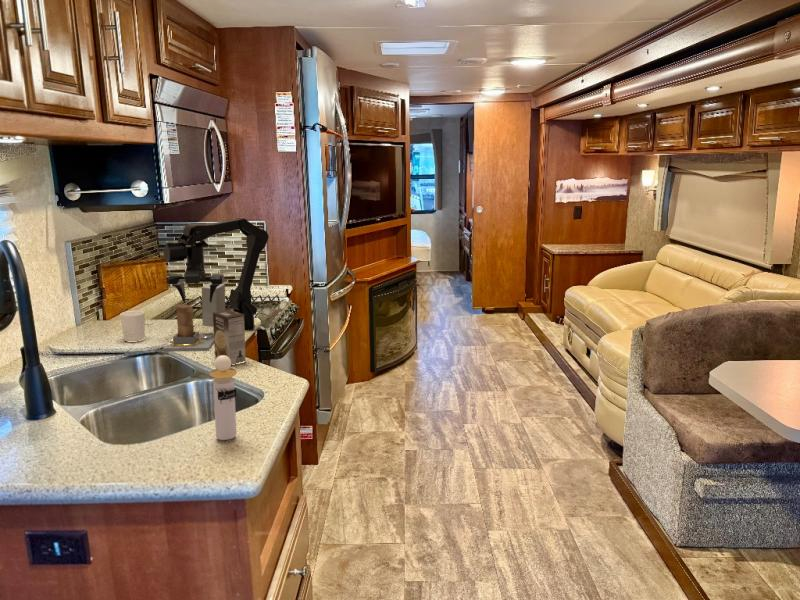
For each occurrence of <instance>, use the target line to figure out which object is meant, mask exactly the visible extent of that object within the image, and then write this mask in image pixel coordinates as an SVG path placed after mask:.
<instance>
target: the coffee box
mask: <svg viewBox="0 0 800 600" xmlns="http://www.w3.org/2000/svg"><path fill="white" fill-rule="evenodd" d="M212 327H213V333H214V343H213V345H214V361H215V360H216V358H217V357H218V356H221V355H225V356H228V357H229V358H230V360H231V365H232V364H236V363H239V362H243V361H246V336H245V335H246V333H245V331H246V330H245V327H244V314H241V313H238V312H235V311H234V309H233V310H232V309H225V311H219V312H214V313H213V326H212ZM246 362H247V361H246Z"/></svg>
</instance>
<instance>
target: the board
mask: <svg viewBox="0 0 800 600" xmlns="http://www.w3.org/2000/svg"><path fill="white" fill-rule="evenodd" d="M199 335H200V333H199ZM200 341H204V343H199V344H198V346H195V347H194V346H189V347H185V348H181V347H178V346H175V347H172V346H171V344H170V345H167V346H165V345H164V346H163V347H162V352H186V351H187V352H191V351H192V352H195V351H196V352H197V351H201V352H203V351H205V352H206V351H207V352H209V351H210V350H211V348H212V346H213V345H214V338H210V340H207V339H202V340H200Z"/></svg>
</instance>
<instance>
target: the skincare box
mask: <svg viewBox="0 0 800 600" xmlns="http://www.w3.org/2000/svg"><path fill="white" fill-rule="evenodd" d="M211 284H212V283H211V282H210V283H207V284H205V285H204V286H202V287H201V309H202V312H201V313H202V314H201V315H202V316H201V318H202V319H201V321H202V323H201V324H202V326H209V327H214V326H213V313H214V312H219V311H225V310H226V283H225V284H224V283H222V284H220V285H219V286H217V288H216V290H215V293H214V296H213V299H212V302H211V303H210V285H211Z"/></svg>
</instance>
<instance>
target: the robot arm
mask: <svg viewBox="0 0 800 600" xmlns="http://www.w3.org/2000/svg"><path fill="white" fill-rule="evenodd" d="M238 230H239V231H240V232H241V234H242V235H244V236H245V237H246V241H245V244H246V249H247V250H246V255H245V257H244V262H243V266H242V270H241V272H240V277H239V280H238V284H237V286H236V288H235V289H232V288H231V289H230V291H229V292H230V294H229V297H228V298H227V300H229V301H228V304H229V306H230V307H231V308H232V309H233V311H235V312H238V313H241V314H244V327H245V331H254V330H255V328H256V325H255V315H257V312H258V309H257V307H255V305H254V304H252V299H253V297H252V292H251V289H252V284H253V280H254V276H255V273H256V268H257V266H258V262H259V258H260V254H261V252H262V251H263V250H264V249H265V248H266V245H267V244H268V241H269V236H270V235H269V233H268V232H267V230H265V229H262V228H260V227H258V226H256V225H255V224H254V223H251V222H250V221H248V220H247V219H246V218H243V217H242V218H241V217H236V218H234V219H230V220H229V219H228V220H224V221H219V222H213V223H205V224H204V223H189V224H186V225H185V226H184V228H183V231H182V234H181V236H180V237H179V238H178V240H177V242H170V241H168V242H165V246H164V249H163V252H162V255H163V258H164V261H165V262H166V263H175V262H184V261H185V260H186V263H187V264H186V269H185V272H184V274H182V273H172V274H171V275H169V276H168V277H167V285H171V287H174V288H175V289H177V291H178V293H179V295H180V297H181V298H180V299H182V301H183V304H185V303H186V301H187V300H186V289H185V288H186V287H185V284H186V285H189V284H194V285H197V284H200V282H204V283H205V282H208V283H209V282H210V283H212V284H211V285H210V303H211V302H212V299H213V296H214V293H215V290H216V288H217V286H219V285H220V284H224V282H225V280H226V279H225V275H224V274H223V273H213V274H211V275H210V276H206V275H207V274H206V269H205V255H204V248H209V247H210V244H209V243H207V242H206V241H205V240H206V239H208V238H210V237H211V236H214V235H219V234H224V233H228V232H233V231H238Z"/></svg>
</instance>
